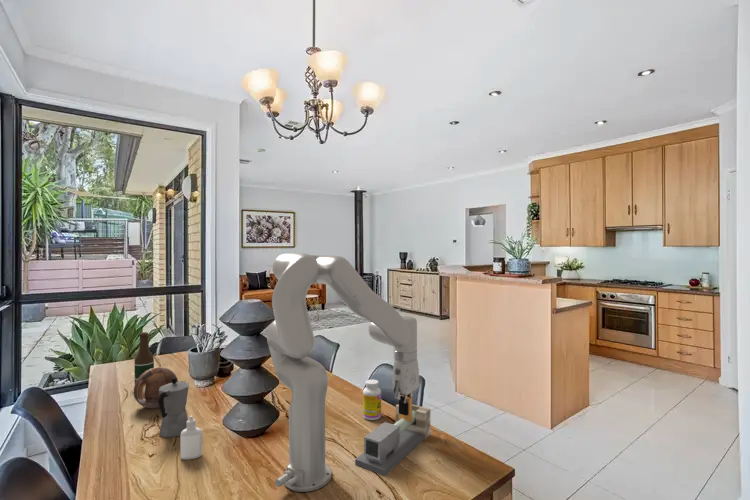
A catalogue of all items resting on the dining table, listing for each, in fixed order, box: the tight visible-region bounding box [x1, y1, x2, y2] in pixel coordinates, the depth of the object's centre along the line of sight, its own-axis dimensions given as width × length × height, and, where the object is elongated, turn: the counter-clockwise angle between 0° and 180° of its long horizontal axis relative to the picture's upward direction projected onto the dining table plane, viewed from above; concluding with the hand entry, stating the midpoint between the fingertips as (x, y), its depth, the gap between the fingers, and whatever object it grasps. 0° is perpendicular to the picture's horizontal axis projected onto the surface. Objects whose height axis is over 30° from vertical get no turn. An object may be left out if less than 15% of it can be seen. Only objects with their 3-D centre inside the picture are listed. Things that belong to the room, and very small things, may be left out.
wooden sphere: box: [133, 366, 179, 409], centre depth 149 cm, size 15×15×15 cm
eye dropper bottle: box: [179, 415, 203, 461], centre depth 113 cm, size 4×6×12 cm
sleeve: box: [363, 421, 400, 464], centre depth 112 cm, size 11×5×7 cm, turn 147°
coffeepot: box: [158, 377, 190, 439], centre depth 128 cm, size 15×9×18 cm, turn 0°
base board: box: [354, 429, 424, 477], centre depth 117 cm, size 25×10×2 cm, turn 147°
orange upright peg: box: [393, 395, 416, 433], centre depth 121 cm, size 16×4×10 cm, turn 147°
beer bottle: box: [133, 331, 155, 384], centre depth 170 cm, size 8×8×24 cm
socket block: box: [395, 403, 432, 441], centre depth 127 cm, size 4×11×8 cm, turn 57°
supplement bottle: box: [362, 379, 382, 421], centre depth 139 cm, size 7×7×13 cm
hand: (405, 412), depth 123 cm, fingers closed on orange upright peg
